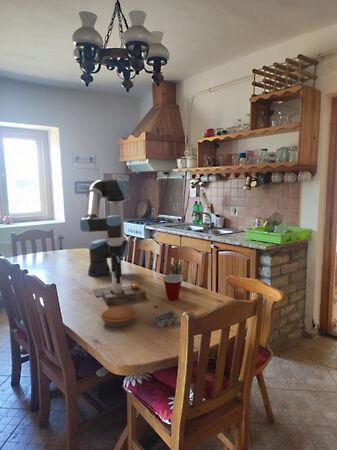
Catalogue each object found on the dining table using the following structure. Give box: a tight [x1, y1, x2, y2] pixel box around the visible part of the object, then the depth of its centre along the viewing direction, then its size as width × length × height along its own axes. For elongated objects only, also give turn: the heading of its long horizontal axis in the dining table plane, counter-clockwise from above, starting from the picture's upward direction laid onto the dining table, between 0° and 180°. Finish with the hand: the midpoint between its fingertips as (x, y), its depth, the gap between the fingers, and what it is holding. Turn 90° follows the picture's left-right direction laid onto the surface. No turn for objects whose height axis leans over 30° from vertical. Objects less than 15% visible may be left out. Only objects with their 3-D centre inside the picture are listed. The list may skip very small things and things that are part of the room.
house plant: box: [166, 259, 186, 288], centre depth 188 cm, size 14×14×16 cm
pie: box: [100, 306, 136, 328], centre depth 144 cm, size 16×16×5 cm
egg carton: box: [152, 309, 180, 328], centre depth 142 cm, size 11×8×4 cm
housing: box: [101, 285, 147, 306], centre depth 172 cm, size 13×21×4 cm, turn 113°
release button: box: [130, 282, 140, 290], centre depth 174 cm, size 4×4×6 cm
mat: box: [92, 286, 112, 298], centre depth 183 cm, size 12×12×1 cm
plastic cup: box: [162, 273, 184, 302], centre depth 169 cm, size 11×11×12 cm
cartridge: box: [111, 271, 123, 295], centre depth 170 cm, size 5×5×14 cm
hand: (117, 287), depth 170 cm, fingers closed on cartridge, 5 cm apart
